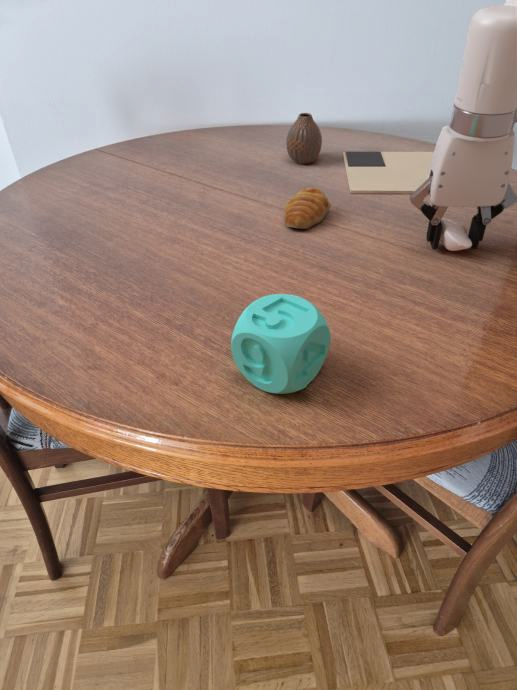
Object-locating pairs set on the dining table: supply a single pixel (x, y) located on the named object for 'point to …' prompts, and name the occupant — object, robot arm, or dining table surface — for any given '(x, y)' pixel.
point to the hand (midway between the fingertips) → (452, 243)
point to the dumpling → (454, 236)
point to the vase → (304, 140)
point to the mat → (386, 171)
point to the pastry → (306, 208)
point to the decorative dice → (280, 343)
